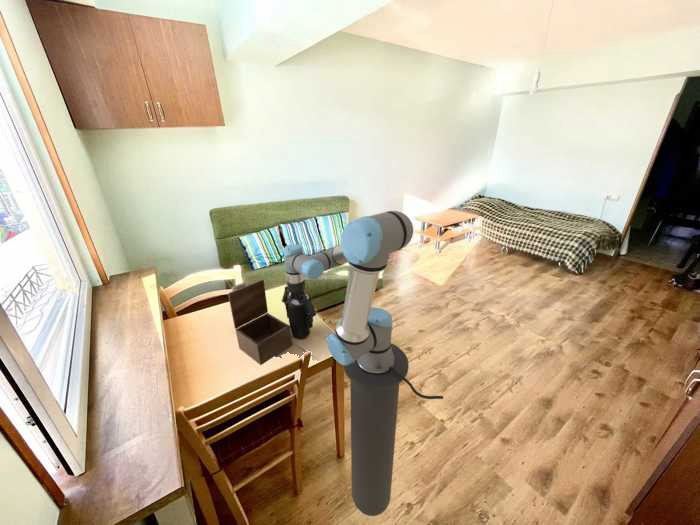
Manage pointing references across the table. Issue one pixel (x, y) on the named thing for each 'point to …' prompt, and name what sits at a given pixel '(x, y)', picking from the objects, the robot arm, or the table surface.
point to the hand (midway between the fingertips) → (299, 322)
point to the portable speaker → (297, 319)
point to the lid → (247, 302)
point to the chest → (264, 338)
